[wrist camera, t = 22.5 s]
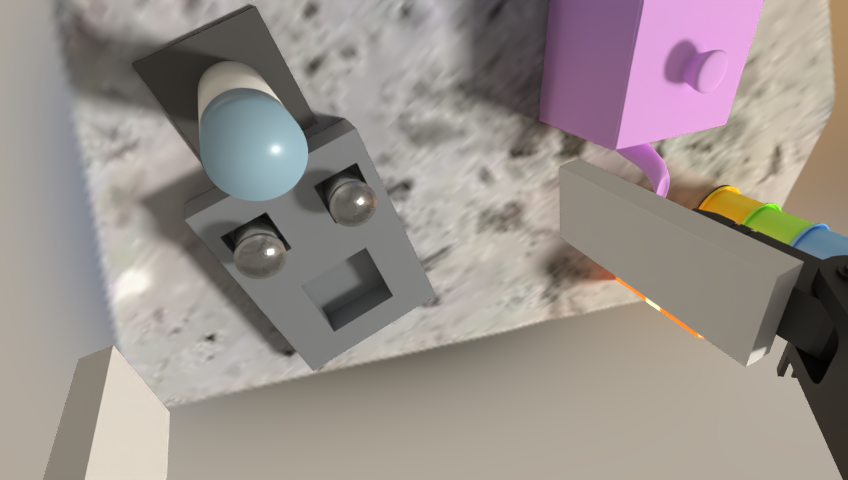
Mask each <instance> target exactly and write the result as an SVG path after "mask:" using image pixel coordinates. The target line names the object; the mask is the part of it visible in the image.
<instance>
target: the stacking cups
mask: <svg viewBox="0 0 848 480" xmlns="http://www.w3.org/2000/svg"><path fill="white" fill-rule="evenodd" d="M698 209H700V210H705V211H709V212H714V213H718V214H720V215H722V216H725V217H727V218H729V219H731V220H734V221H736V222H737V223H738V224H739V225H740V224H743V225H745V226H747V227H749V228H752V229H753V230H754V232H757V231H758V232H761V233H763V234H765V235H767V236H770V237H772V238H774V239H776V240H779V241H781V242H783V243H785V244H788V245H790V246H792V247H794V248H797V249H799V250H801V251H803V252H806V253H808V254H810V255H813V256H815V257H817V258H820V259H822V260H824V259H826V258H829V257H831V256H839V255H848V237H845V236H843V235H840V234H838V233H835V232H832V231H830V230H829V228H828V226H827V225H825V224H823V223H816V224H813V223H811V222H808V221H806V220H803V219H800V218H798V217H795V216H793V215H790V214H787V213H785V212H782V211H781V209H780V207H779V206H778V205H777V204H775V203H765V204H764V203H761V202H759V201H756V200H753V199H751V198H748V197H746V196H743V195H741V194H740V192H739V191H738V190H737V189H736V188H735V187H732V186H724V187H721V188H719V189H717V190H715V191H714V192H712V193H711V194H710V195H709V196H708V197H707V198H706V199H705V200H704V201H703V202H702V204H701V205H700V206H699V208H698Z"/></svg>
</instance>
